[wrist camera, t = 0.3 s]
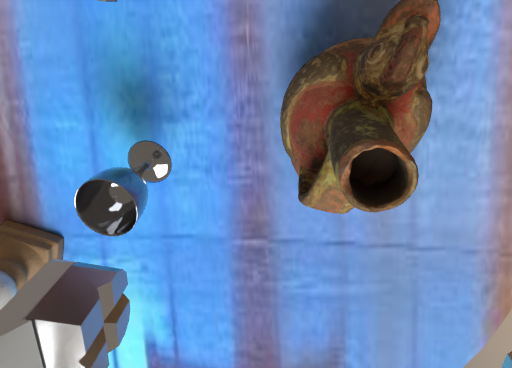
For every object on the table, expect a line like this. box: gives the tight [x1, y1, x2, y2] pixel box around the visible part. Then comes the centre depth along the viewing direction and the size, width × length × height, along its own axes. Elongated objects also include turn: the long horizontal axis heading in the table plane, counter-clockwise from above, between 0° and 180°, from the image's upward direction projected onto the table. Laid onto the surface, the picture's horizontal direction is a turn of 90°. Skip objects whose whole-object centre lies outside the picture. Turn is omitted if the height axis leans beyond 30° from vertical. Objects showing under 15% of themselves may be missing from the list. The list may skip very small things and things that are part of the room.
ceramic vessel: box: [280, 0, 440, 214], centre depth 40 cm, size 17×26×25 cm, turn 163°
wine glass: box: [74, 141, 172, 236], centre depth 53 cm, size 8×8×15 cm
